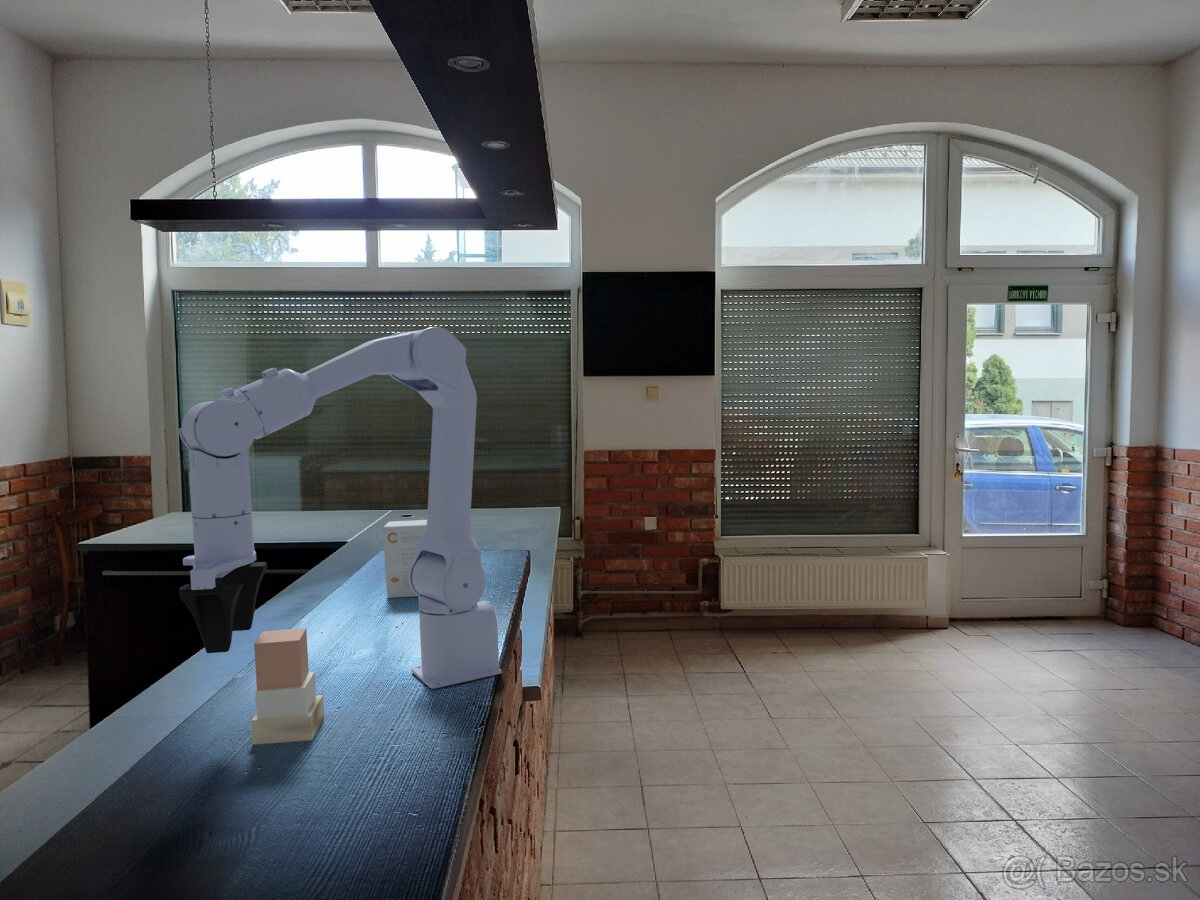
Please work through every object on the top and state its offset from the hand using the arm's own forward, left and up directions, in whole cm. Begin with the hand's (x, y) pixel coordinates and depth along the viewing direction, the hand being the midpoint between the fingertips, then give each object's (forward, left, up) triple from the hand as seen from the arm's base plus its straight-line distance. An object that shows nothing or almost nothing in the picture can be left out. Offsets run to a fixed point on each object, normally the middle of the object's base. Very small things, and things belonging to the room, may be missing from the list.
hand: (229, 640), depth 87 cm
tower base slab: (-5, +2, -11) cm, 12 cm away
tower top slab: (-5, +2, -8) cm, 10 cm away
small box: (-36, -49, -11) cm, 62 cm away
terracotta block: (-5, +2, -5) cm, 7 cm away
